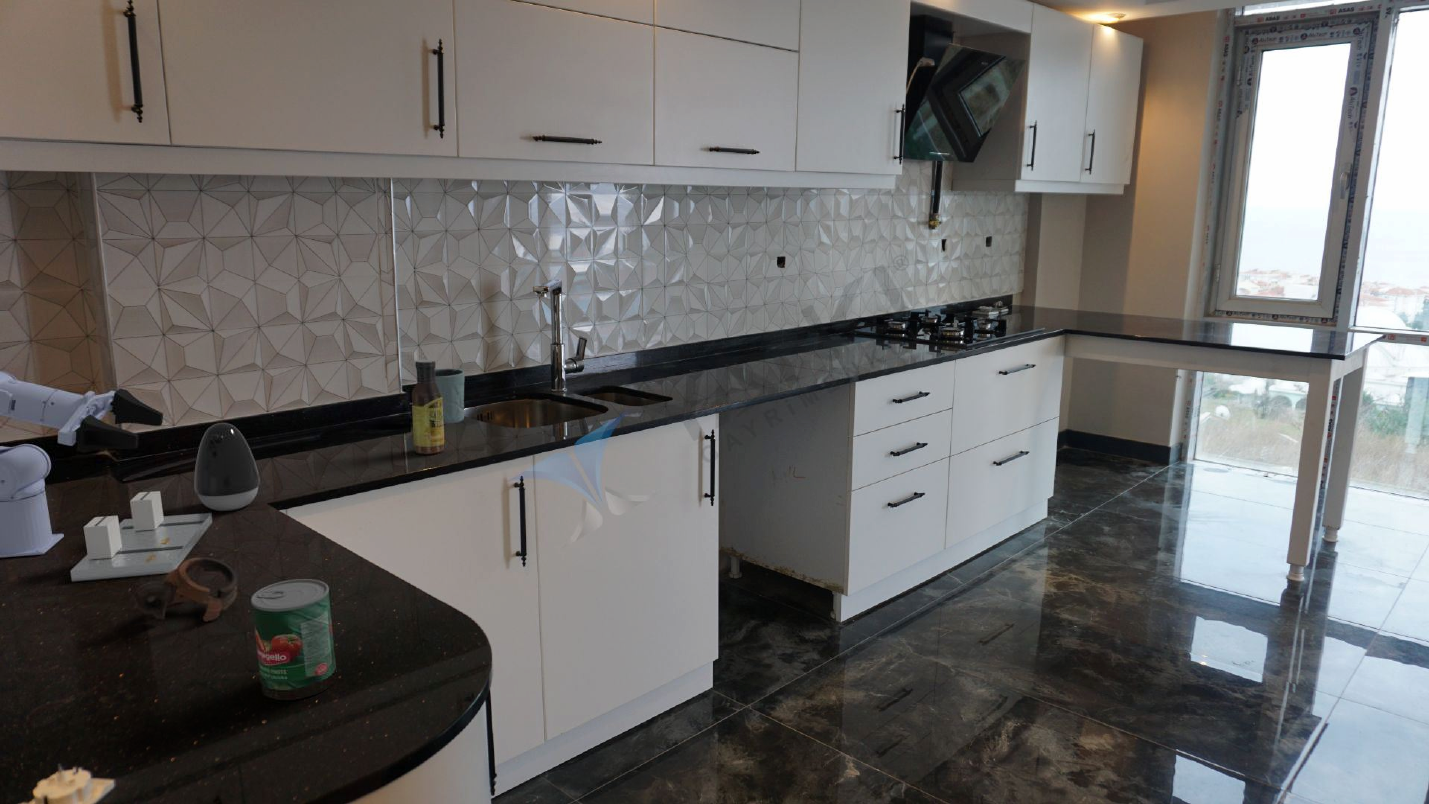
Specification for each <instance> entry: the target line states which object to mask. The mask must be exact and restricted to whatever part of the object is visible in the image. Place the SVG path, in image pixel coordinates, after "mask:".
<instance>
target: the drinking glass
mask: <svg viewBox="0 0 1429 804" xmlns="http://www.w3.org/2000/svg"><path fill="white" fill-rule="evenodd" d="M435 378H436V383H437V385H438V388H439V390H440V393H441V395H442V404H443V425H448V424H449V425H451V424H455V423H460V422H463V420H464V419H465V412H464V411H465V403H464V402H465V401H464V400H465V370H463V369H460V368H448V367H447V368H435Z"/></svg>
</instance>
